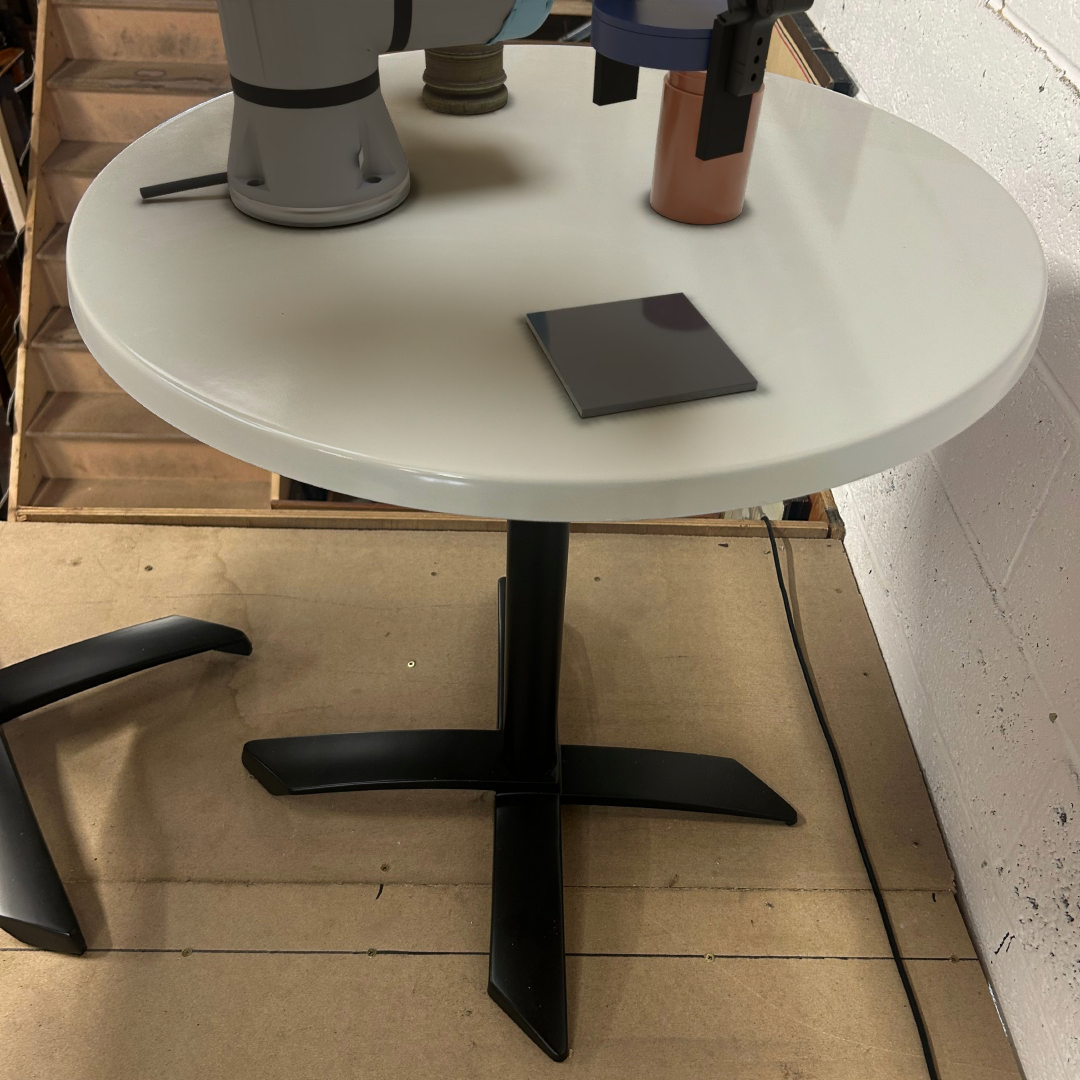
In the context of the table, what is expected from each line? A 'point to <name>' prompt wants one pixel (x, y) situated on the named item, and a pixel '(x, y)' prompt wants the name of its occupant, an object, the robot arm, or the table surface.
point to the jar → (685, 179)
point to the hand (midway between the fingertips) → (664, 125)
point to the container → (465, 78)
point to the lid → (655, 32)
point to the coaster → (637, 354)
